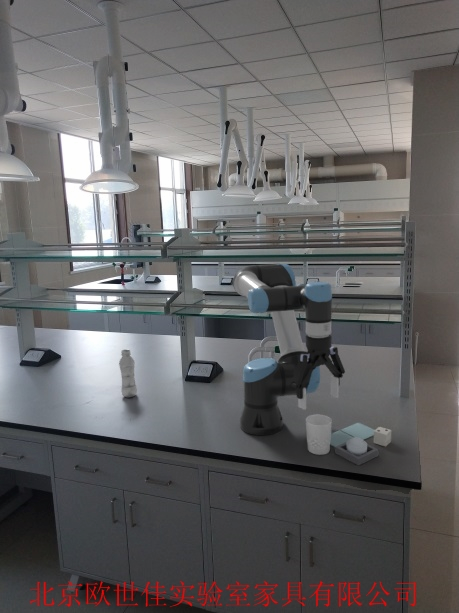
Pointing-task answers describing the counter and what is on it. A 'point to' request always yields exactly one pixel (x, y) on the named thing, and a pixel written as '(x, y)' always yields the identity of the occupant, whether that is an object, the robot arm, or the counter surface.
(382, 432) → the die
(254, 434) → the robot arm
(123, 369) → the plastic bottle
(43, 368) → the counter surface
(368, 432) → the tile
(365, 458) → the frame
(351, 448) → the dome
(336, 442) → the tile
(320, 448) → the white cup
